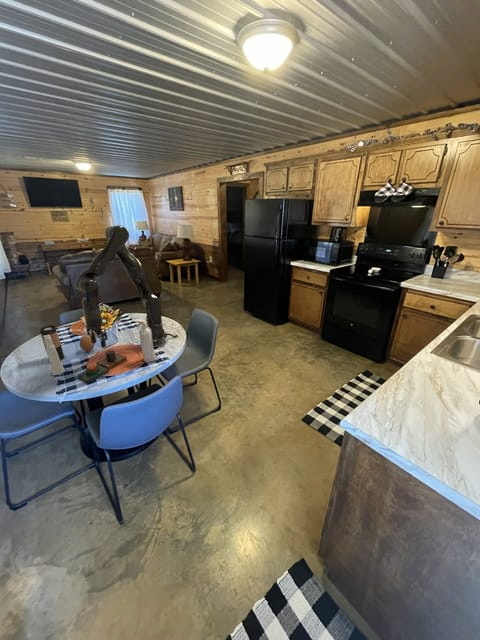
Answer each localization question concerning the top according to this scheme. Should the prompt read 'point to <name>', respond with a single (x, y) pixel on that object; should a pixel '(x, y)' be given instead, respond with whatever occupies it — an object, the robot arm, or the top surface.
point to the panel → (112, 362)
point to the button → (91, 367)
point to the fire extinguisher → (146, 341)
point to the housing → (92, 373)
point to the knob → (110, 355)
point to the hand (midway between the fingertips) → (99, 344)
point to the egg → (86, 343)
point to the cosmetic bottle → (53, 357)
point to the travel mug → (54, 337)
